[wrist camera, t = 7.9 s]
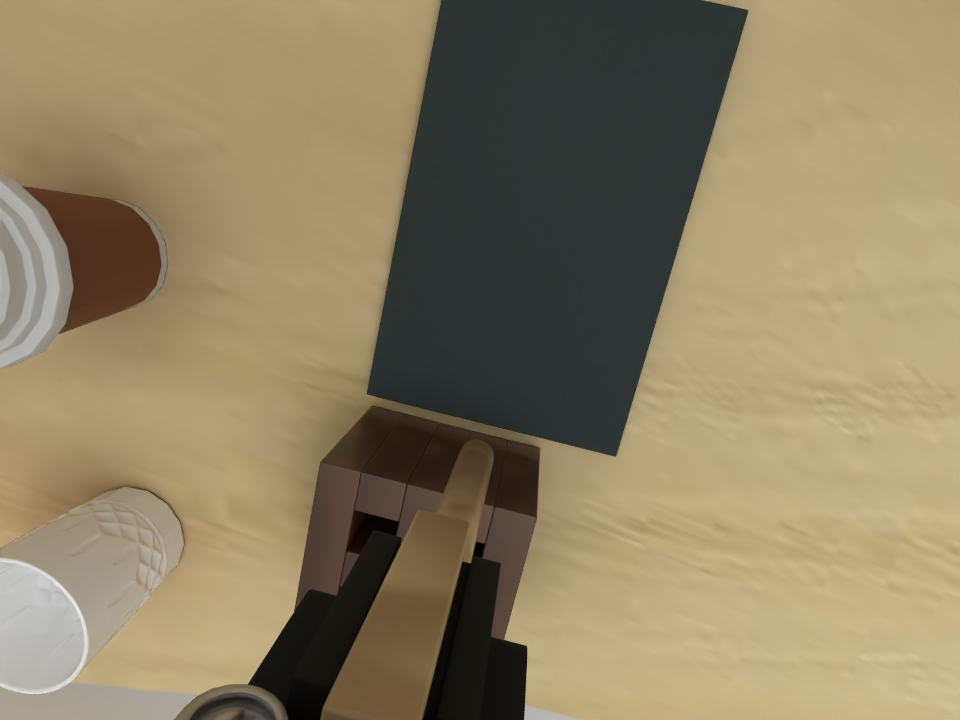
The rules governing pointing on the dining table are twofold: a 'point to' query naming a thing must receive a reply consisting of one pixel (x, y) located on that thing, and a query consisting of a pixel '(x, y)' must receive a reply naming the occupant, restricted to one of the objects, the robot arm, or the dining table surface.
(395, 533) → the utensil block
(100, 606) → the white cup
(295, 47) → the dining table surface
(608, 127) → the mat
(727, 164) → the dining table surface
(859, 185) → the dining table surface
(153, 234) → the coffee cup
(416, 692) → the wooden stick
